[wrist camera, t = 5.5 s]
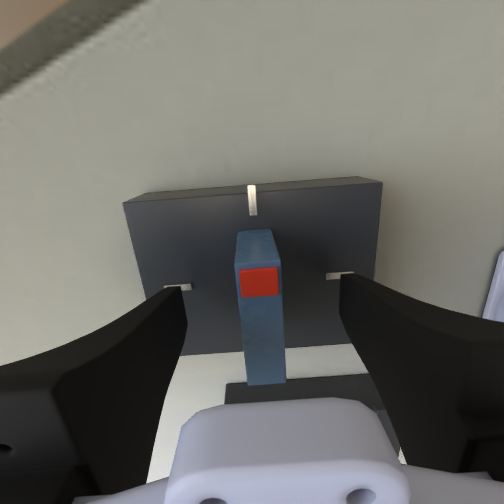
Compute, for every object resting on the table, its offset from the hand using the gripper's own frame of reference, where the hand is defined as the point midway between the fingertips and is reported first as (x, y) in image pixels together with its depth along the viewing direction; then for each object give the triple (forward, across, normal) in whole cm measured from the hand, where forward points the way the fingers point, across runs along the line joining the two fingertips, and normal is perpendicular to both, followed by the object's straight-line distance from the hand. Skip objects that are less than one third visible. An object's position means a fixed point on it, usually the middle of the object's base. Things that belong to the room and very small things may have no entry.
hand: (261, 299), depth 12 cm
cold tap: (+2, 0, 0) cm, 2 cm away
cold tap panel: (+5, 0, 0) cm, 5 cm away
